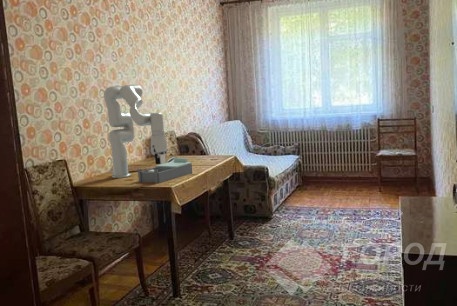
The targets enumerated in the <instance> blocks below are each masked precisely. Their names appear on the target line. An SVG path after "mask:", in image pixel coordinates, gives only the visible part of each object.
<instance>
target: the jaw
mask: <svg viewBox="0 0 457 306" xmlns="http://www.w3.org/2000/svg"><path fill="white" fill-rule="evenodd" d="M165 155H166V154H160V153H159V158H160V164H165V163H166V162H167V160H166V156H165ZM155 163H156V161H155ZM160 164H159V165H160Z"/></svg>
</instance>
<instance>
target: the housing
mask: <svg viewBox="0 0 457 306" xmlns="http://www.w3.org/2000/svg"><path fill="white" fill-rule="evenodd" d="M149 170H154V172H148V171H149ZM157 170H158V171H157ZM186 175H193V164H192V163H191V164H188V165H184V166H181V167H177V168H170V167H156V166H155V167H152V168H148V169H144V170H142V169H141V168H137V179H138V183H155V184H160V183H164V182H167V181H169V180H173V179H177V178H180V177H182V176H186Z"/></svg>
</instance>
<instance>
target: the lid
mask: <svg viewBox="0 0 457 306" xmlns="http://www.w3.org/2000/svg"><path fill="white" fill-rule="evenodd" d="M188 164H192V161H188V158H187V157H186V158H185V157H177V158H174V162H168V163H165V164H156V165H155V167H170V168H177V167H181V166H184V165H188Z"/></svg>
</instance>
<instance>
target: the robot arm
mask: <svg viewBox="0 0 457 306" xmlns="http://www.w3.org/2000/svg"><path fill="white" fill-rule="evenodd" d="M142 95H143V89H142V87H141V86H140V85H138V84H124V85H114V86H113V85H111V86H109V87H107V88H105V89H104V93H103V99H104V102H105V106H106V108H107V109H106V110H107V117H108V122H109V126H110V127H111V128H117V129H112V130H111V131H109V133H108V141H109V144H110V148H111V150H110V151H111V157H112V167H113V168H112V170H111V171H110V173H111V174H112V175H111V178H113V179H116V178H117V179H121V178H127V177H130V176H132V173H130V172H129V166H128V155H127V154H128V153H127V149H126V148H127V147H126V146H125V145H124V144H126V143H130V142H131V143H132V142H133V141H134V139H135V127H134V123H135V124H136V125H137V126H138V127H139V126H140V127H145V126H150V129H151V131H150V132H151V137H150V153H151V154H150V155H152V156H153V158H154V159H155V161H156V162H155V165H160V158H159V154H165V157H166V154H167V153H168V148H167V147H168V145H167V139H166V135H165V125H164V118H163V117H164V116H163V113H162V112H145V113H144V112H143V113H142V112H141V113H140V111H138V109H139V108H141V106H142V105H143V99H142V98H141V97H142ZM117 100H124V101H125V102H126V104H128V106H129V112H127V111H125V112H124V111H123V112H122V109H121V105H120V103H119V102H118V101H117Z"/></svg>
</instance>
